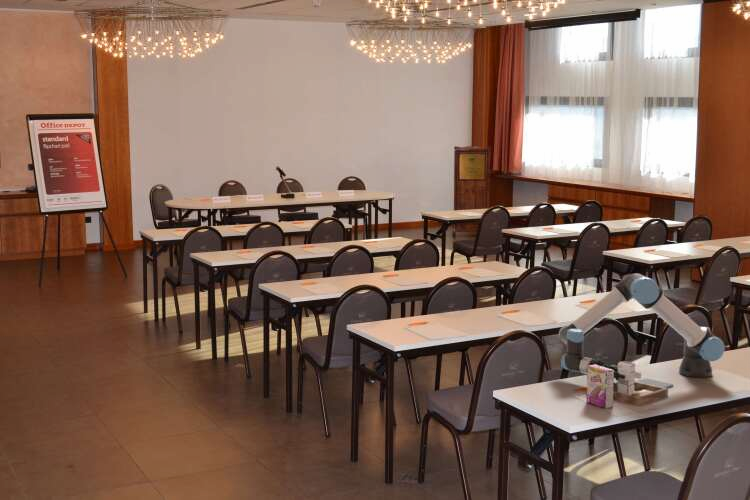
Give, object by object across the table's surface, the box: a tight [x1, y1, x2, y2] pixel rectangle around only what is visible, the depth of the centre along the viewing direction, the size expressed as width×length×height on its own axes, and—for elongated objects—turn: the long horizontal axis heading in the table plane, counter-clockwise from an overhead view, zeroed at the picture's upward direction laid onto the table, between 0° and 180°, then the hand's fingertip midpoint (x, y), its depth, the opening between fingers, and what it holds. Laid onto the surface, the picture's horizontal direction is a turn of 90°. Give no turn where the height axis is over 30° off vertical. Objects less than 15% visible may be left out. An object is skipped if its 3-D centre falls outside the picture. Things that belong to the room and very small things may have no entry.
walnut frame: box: [613, 380, 669, 407], centre depth 402 cm, size 22×23×4 cm
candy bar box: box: [585, 364, 615, 410], centre depth 388 cm, size 11×5×16 cm, turn 33°
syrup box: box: [616, 360, 636, 395], centre depth 404 cm, size 6×6×14 cm
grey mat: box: [637, 377, 674, 389], centre depth 418 cm, size 14×14×1 cm
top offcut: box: [631, 390, 653, 397], centre depth 398 cm, size 5×10×1 cm, turn 131°
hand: (636, 377), depth 400 cm, fingers closed on syrup box, 6 cm apart
